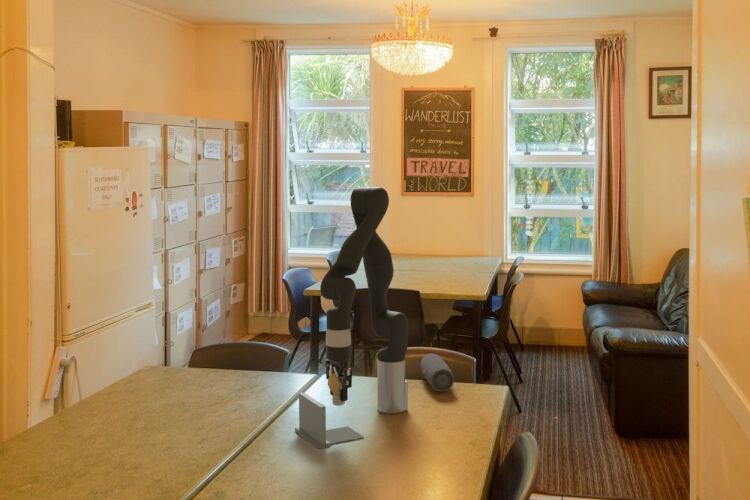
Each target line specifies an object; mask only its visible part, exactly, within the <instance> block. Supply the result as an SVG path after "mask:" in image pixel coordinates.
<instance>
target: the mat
mask: <svg viewBox="0 0 750 500" xmlns="http://www.w3.org/2000/svg"><path fill="white" fill-rule="evenodd" d="M363 439H365V437H364V436H363V435H361V434H360V433H359V432H357V431H356V430H354V429H352V428H351V427H349V426H347V425H346V426H342V427H336V428H331V429H326V440H327V441H329V442H330V443H331V445H333V446H334V445H337V444H342V443H347V442H352V441H358V440H363Z"/></svg>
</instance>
